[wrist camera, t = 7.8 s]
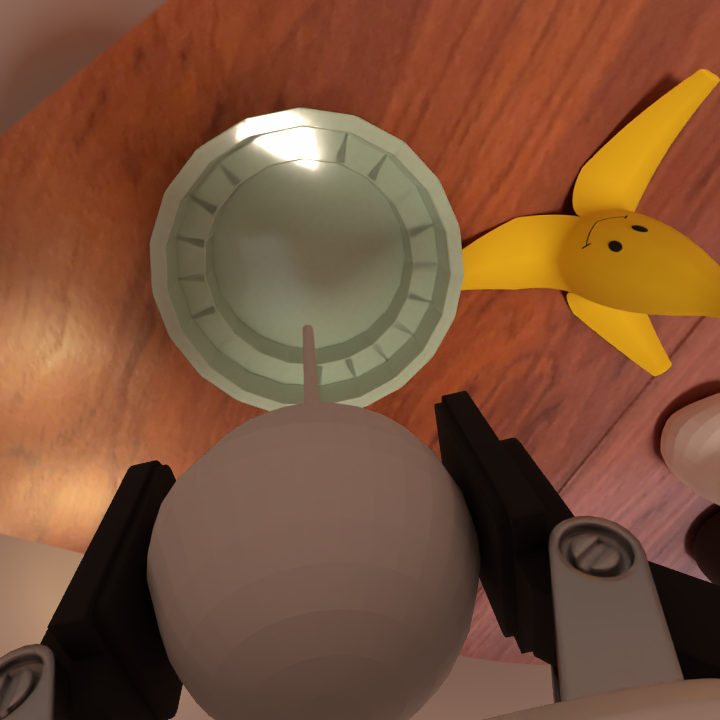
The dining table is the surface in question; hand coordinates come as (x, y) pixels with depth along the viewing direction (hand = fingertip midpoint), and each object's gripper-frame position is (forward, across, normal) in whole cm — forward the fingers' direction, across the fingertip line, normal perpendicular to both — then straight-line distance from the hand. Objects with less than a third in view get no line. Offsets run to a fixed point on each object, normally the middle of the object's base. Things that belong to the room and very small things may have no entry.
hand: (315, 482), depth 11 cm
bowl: (+22, 0, 0) cm, 22 cm away
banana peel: (+22, -20, +5) cm, 30 cm away
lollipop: (+10, 0, 0) cm, 10 cm away
